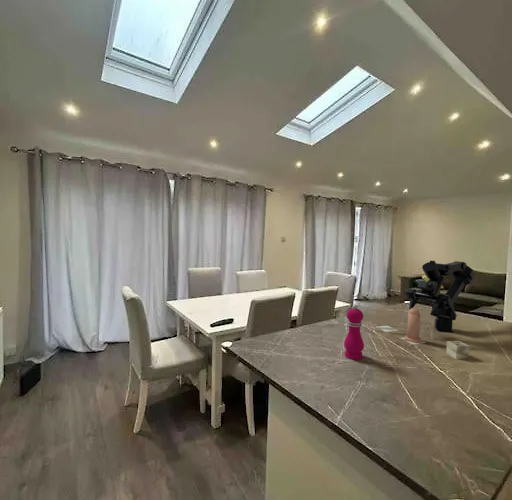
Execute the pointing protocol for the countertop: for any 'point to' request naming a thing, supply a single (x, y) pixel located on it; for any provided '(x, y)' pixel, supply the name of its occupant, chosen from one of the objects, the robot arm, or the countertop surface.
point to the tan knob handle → (413, 326)
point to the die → (457, 350)
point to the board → (396, 333)
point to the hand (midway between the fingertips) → (420, 312)
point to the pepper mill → (354, 334)
